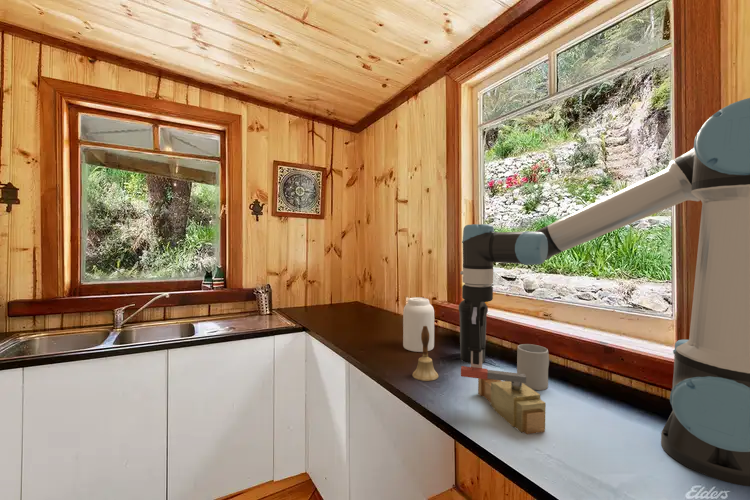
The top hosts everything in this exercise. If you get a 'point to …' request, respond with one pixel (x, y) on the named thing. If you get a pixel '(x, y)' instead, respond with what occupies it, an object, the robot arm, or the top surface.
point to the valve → (515, 404)
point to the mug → (533, 365)
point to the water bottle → (465, 331)
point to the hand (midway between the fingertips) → (476, 374)
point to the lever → (495, 376)
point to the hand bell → (425, 361)
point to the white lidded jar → (417, 323)
